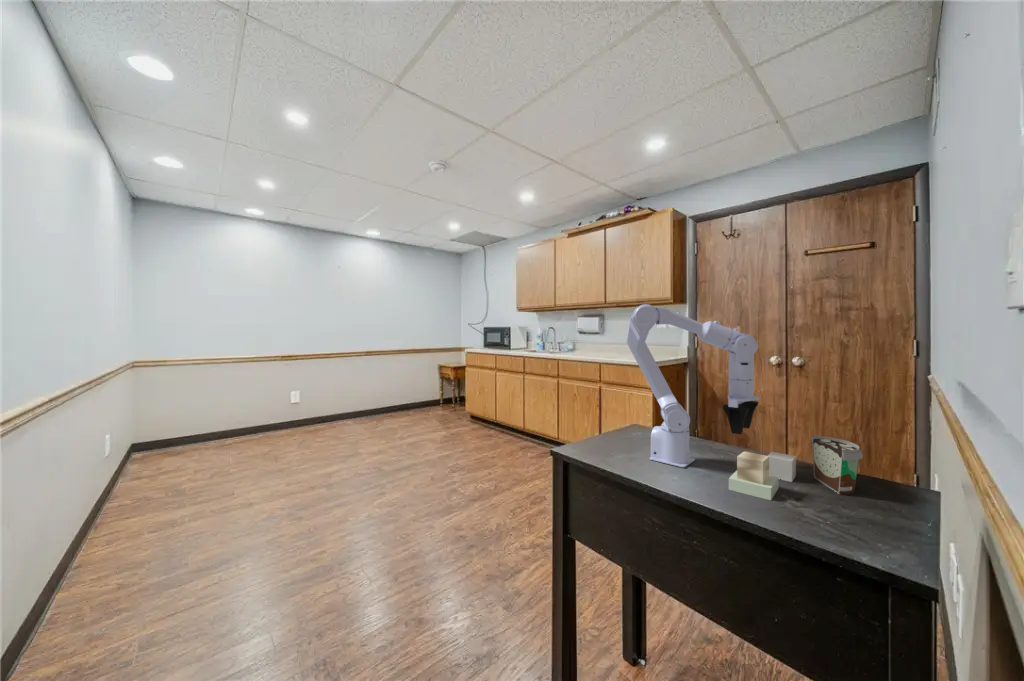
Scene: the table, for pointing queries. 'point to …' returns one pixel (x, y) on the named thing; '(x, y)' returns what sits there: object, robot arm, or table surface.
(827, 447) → the food container
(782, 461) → the grey block
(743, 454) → the birch cube
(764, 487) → the sage block
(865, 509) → the table surface
